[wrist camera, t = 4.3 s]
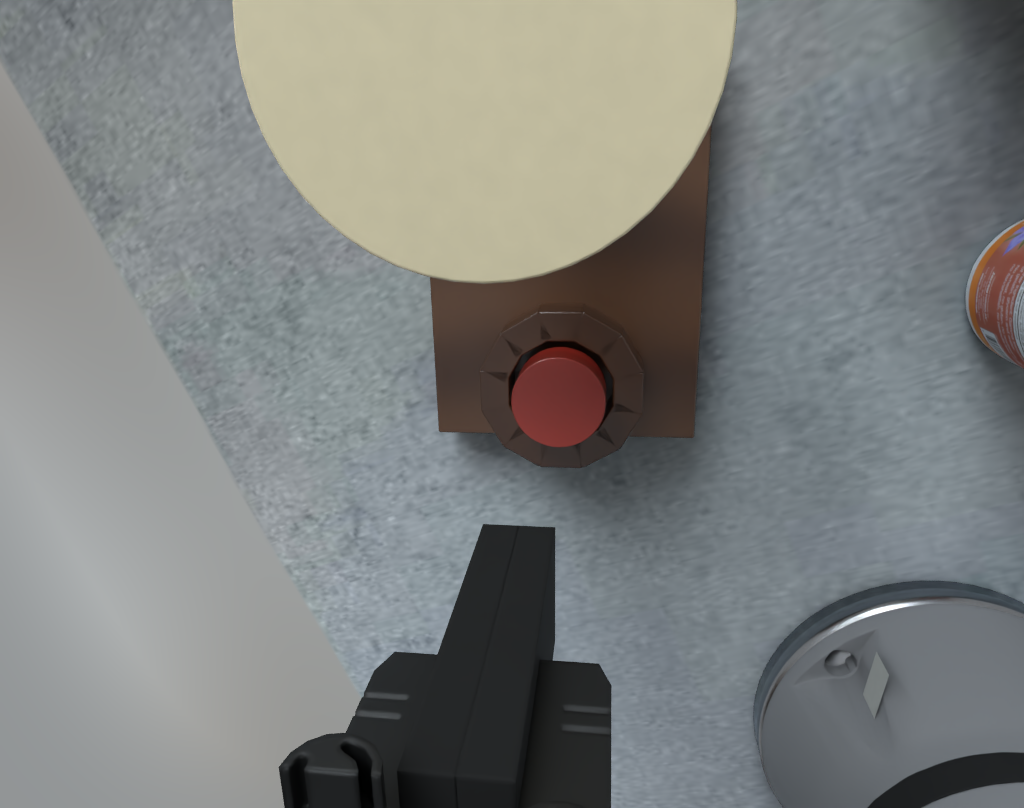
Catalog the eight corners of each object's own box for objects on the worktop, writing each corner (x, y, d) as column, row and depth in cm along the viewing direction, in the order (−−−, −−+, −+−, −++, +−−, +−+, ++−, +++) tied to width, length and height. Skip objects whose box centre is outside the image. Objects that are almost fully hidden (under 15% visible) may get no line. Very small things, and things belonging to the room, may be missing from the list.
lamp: (656, 209, 27) (720, 283, 11) (466, 212, 28) (264, 284, 12) (664, -8, 25) (758, -320, 9) (457, 2, 26) (195, -260, 10)
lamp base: (688, 436, 33) (698, 472, 30) (449, 431, 35) (429, 464, 31) (710, 26, 28) (725, 5, 25) (429, 39, 30) (402, 21, 26)
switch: (605, 433, 30) (605, 448, 28) (517, 431, 31) (512, 446, 29) (606, 346, 29) (606, 358, 27) (515, 346, 29) (509, 357, 28)
